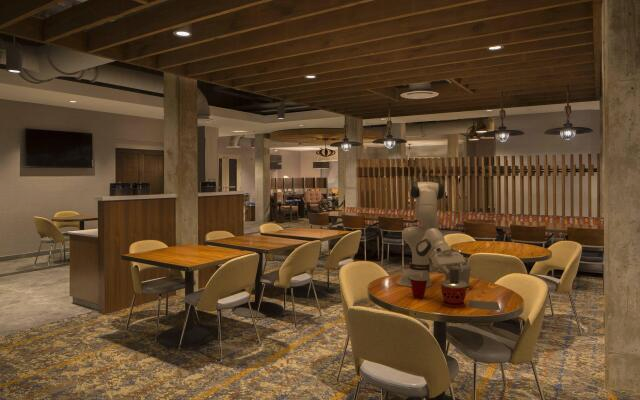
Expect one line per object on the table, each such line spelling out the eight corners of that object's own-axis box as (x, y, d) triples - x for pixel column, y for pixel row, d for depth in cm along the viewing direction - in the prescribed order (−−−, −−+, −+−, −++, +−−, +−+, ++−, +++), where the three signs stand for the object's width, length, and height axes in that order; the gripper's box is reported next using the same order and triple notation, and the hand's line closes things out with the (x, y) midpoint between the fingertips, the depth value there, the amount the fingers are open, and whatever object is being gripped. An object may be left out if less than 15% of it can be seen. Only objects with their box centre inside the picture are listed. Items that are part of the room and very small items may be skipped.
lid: (435, 283, 255) (436, 268, 255) (455, 280, 261) (455, 266, 261) (453, 289, 243) (453, 273, 242) (473, 286, 249) (473, 271, 248)
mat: (469, 308, 248) (469, 307, 248) (468, 300, 263) (468, 300, 263) (500, 310, 243) (500, 310, 243) (497, 302, 259) (497, 302, 259)
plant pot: (438, 302, 259) (438, 282, 259) (460, 302, 260) (460, 281, 260) (445, 309, 246) (446, 287, 246) (469, 308, 247) (469, 287, 247)
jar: (475, 291, 286) (476, 251, 284) (452, 291, 284) (453, 251, 283) (463, 284, 304) (463, 246, 303) (441, 284, 303) (442, 247, 302)
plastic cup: (430, 296, 272) (430, 277, 271) (424, 301, 262) (425, 280, 262) (412, 294, 277) (413, 275, 277) (406, 298, 268) (407, 278, 267)
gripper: (454, 253, 266) (466, 273, 258) (426, 256, 257) (438, 277, 249) (460, 247, 262) (472, 267, 254) (432, 249, 253) (444, 270, 245)
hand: (455, 272), depth 251 cm, fingers open, 8 cm apart
